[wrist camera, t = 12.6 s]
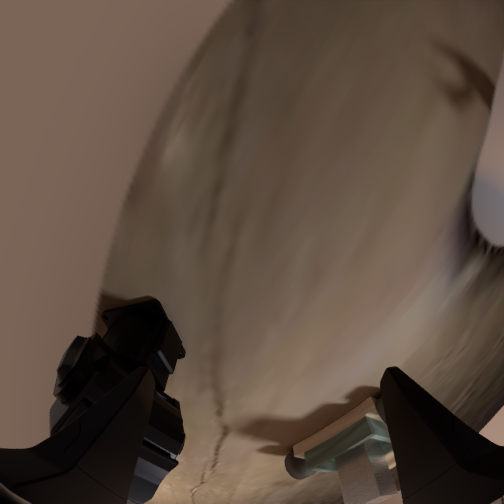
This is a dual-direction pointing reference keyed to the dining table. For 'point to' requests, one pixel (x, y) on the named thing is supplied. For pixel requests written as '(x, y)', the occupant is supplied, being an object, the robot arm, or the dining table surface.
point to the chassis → (341, 440)
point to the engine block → (365, 474)
